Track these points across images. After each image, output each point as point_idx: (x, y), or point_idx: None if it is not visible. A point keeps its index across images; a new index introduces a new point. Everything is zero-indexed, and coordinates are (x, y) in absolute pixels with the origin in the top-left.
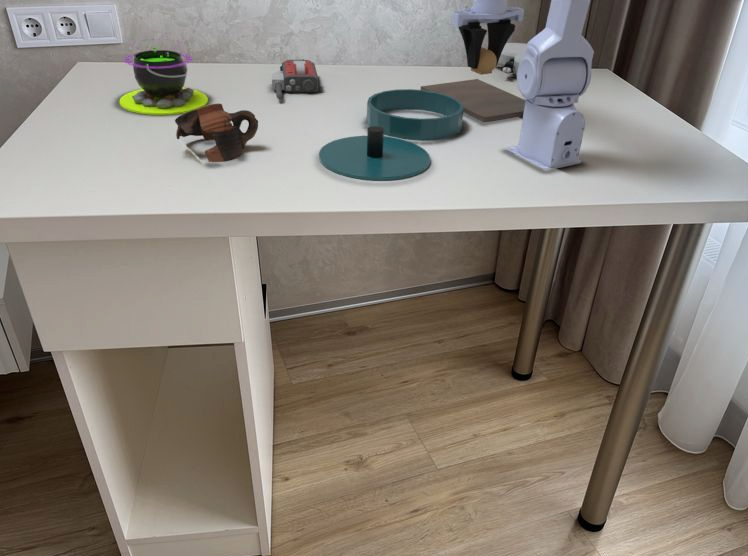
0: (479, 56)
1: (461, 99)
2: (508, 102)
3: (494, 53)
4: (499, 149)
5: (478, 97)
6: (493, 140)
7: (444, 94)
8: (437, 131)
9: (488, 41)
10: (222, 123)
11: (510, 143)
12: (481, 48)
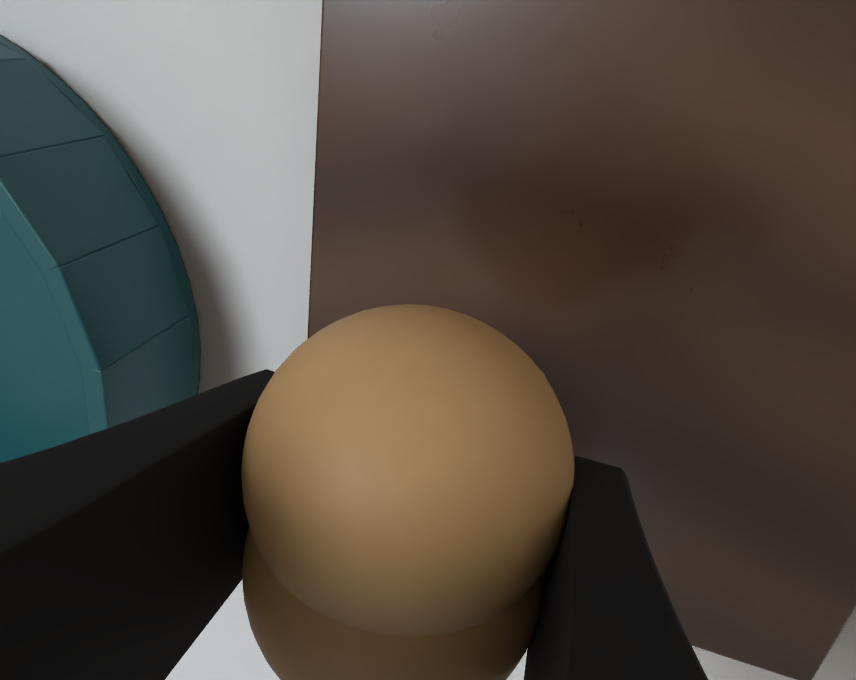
0: (210, 613)
1: (420, 199)
2: (699, 476)
3: (533, 676)
4: (189, 666)
5: (595, 248)
6: (225, 615)
7: (80, 326)
8: None
9: (572, 662)
10: None
11: (268, 673)
12: (324, 595)
